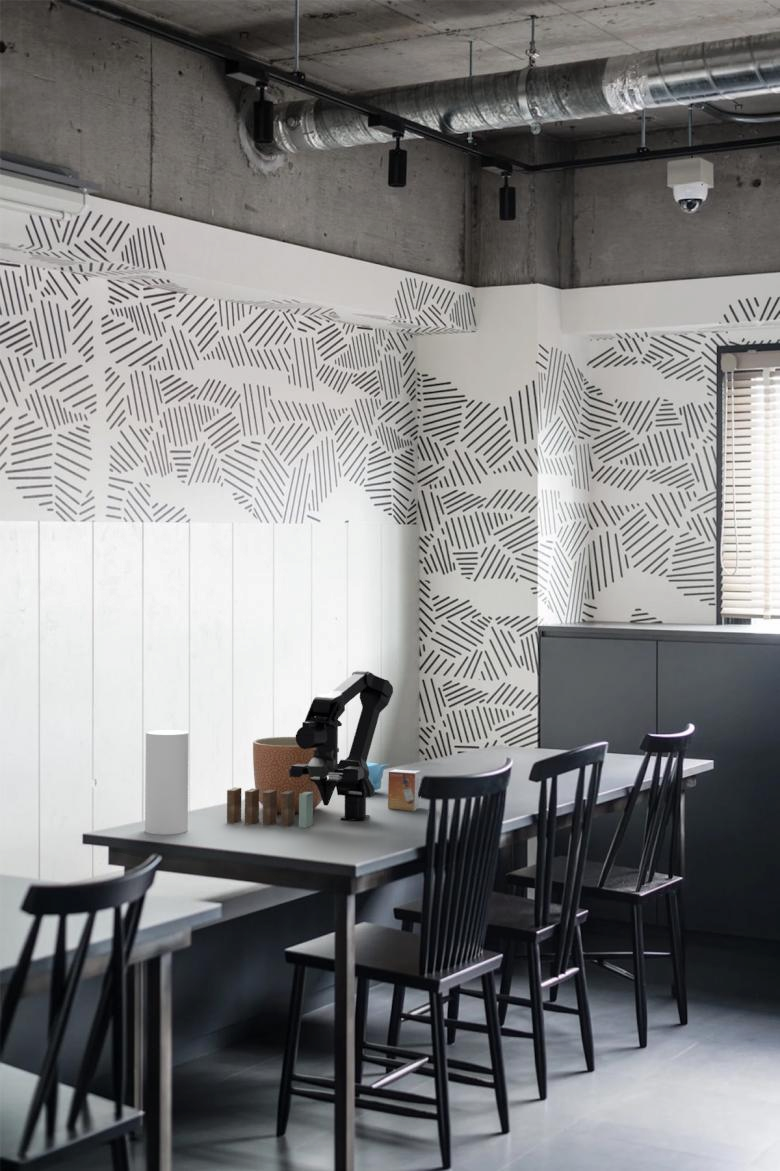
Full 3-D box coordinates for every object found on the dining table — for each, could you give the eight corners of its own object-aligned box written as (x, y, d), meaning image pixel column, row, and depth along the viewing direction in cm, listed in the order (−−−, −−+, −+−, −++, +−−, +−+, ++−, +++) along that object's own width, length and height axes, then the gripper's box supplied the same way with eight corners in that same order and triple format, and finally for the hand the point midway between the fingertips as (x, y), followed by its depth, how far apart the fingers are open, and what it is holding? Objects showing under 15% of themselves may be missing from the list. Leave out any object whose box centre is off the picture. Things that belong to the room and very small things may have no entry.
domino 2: (244, 823, 373) (244, 791, 373) (251, 820, 378) (252, 788, 378) (251, 824, 373) (252, 791, 373) (258, 821, 378) (259, 788, 377)
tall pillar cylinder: (187, 826, 369) (188, 729, 368) (188, 834, 358) (188, 734, 358) (145, 827, 367) (146, 729, 367) (144, 835, 357) (145, 734, 356)
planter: (268, 801, 408) (269, 735, 407) (337, 806, 402) (338, 738, 402) (240, 814, 388) (241, 744, 387) (313, 818, 382) (314, 747, 382)
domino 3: (262, 825, 372) (262, 792, 372) (269, 821, 377) (269, 789, 377) (269, 825, 371) (270, 792, 371) (276, 822, 376) (276, 789, 376)
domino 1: (226, 822, 375) (227, 790, 375) (234, 819, 380) (234, 787, 379) (233, 823, 374) (234, 790, 374) (241, 819, 379) (241, 787, 379)
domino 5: (298, 827, 369) (299, 794, 369) (305, 824, 374) (305, 791, 374) (306, 827, 368) (306, 794, 368) (312, 824, 373) (312, 792, 373)
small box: (387, 809, 398) (387, 771, 398) (393, 806, 403) (394, 768, 403) (414, 811, 395) (415, 773, 395) (420, 807, 401) (421, 770, 400)
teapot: (324, 793, 424) (324, 759, 423) (347, 787, 436) (348, 754, 436) (378, 798, 415) (378, 764, 415) (400, 792, 428) (400, 758, 427)
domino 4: (280, 826, 371) (280, 793, 370) (287, 822, 375) (287, 790, 375) (287, 826, 370) (288, 793, 370) (294, 823, 375) (294, 790, 375)
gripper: (281, 747, 364) (281, 808, 365) (351, 750, 359) (351, 812, 359) (296, 742, 375) (296, 801, 375) (364, 745, 370) (364, 805, 370)
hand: (326, 805), depth 370 cm, fingers closed
